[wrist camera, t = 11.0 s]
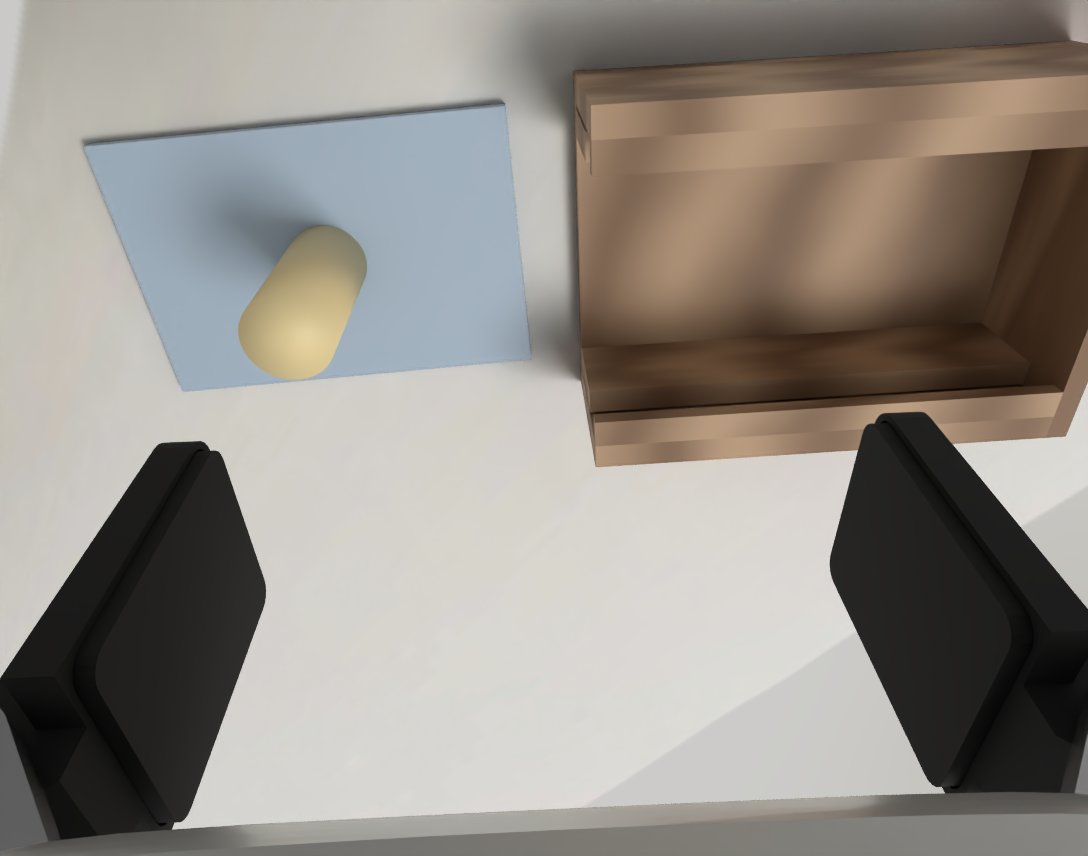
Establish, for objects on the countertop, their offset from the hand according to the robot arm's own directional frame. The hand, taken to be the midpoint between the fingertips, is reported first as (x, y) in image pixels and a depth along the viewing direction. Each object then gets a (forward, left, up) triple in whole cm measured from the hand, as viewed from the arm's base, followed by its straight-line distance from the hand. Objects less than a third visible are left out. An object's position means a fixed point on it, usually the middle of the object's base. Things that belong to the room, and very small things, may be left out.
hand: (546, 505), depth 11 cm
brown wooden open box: (+4, +11, -22) cm, 25 cm away
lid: (+4, -8, -23) cm, 24 cm away
